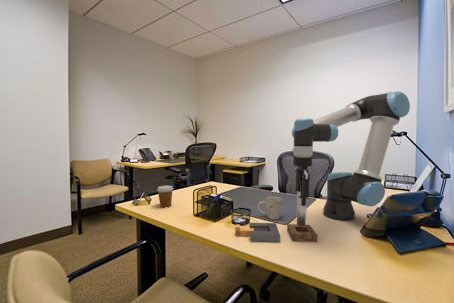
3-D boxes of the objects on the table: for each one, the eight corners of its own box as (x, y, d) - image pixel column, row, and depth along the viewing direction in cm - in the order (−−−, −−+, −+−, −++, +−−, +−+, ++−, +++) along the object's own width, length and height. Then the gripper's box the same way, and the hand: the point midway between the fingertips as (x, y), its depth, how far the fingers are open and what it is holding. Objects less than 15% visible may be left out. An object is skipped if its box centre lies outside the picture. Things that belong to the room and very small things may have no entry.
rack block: (309, 231, 100) (309, 224, 100) (317, 241, 90) (317, 234, 90) (287, 230, 101) (287, 224, 101) (292, 241, 91) (292, 234, 91)
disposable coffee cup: (161, 203, 142) (161, 185, 141) (176, 204, 140) (175, 185, 139) (154, 208, 132) (154, 188, 131) (170, 209, 131) (169, 189, 130)
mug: (282, 221, 112) (282, 201, 111) (256, 219, 114) (256, 200, 114) (281, 214, 120) (281, 196, 119) (257, 213, 123) (257, 195, 122)
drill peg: (304, 222, 97) (304, 190, 96) (306, 226, 93) (307, 193, 92) (295, 222, 97) (296, 190, 96) (297, 225, 93) (298, 193, 92)
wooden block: (253, 233, 98) (253, 224, 98) (254, 236, 96) (254, 227, 95) (235, 233, 99) (235, 224, 99) (235, 236, 96) (235, 227, 96)
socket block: (275, 229, 102) (275, 223, 102) (280, 242, 90) (280, 235, 90) (249, 228, 103) (249, 222, 103) (250, 241, 91) (250, 234, 91)
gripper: (289, 154, 101) (288, 204, 103) (298, 158, 85) (297, 218, 87) (306, 154, 101) (304, 204, 103) (318, 158, 84) (317, 218, 86)
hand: (301, 210), depth 95 cm, fingers closed on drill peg, 3 cm apart
